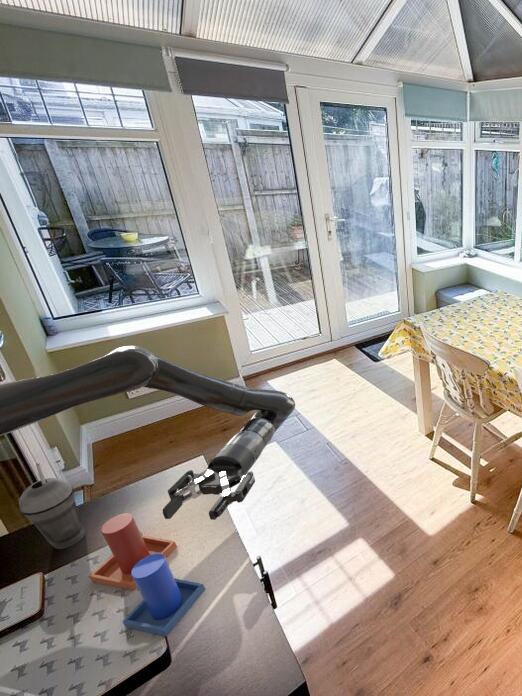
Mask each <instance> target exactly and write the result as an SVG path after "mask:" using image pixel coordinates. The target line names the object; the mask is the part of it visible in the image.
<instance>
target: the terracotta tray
mask: <svg viewBox="0 0 522 696" xmlns="http://www.w3.org/2000/svg"><path fill="white" fill-rule="evenodd" d="M141 536H142V538H143V540H144V542H145V544H146V546H147V549H148V551H149V553H150V555H152V554H156V553H160V554H163V555H164V556H165V558H166V559H167V557H169V556H170V555H171V554H172V553H173V551H174V550H176V549H177V548H178V545H177V543H176V541H174V540H169V539H163V538H159V537H154V536H148V535H144V534H141ZM88 576H89V578H90V581H91V582H92V583H96V584H100V585H101V584H102V585H105V586H111V587H115V588H119V589H125V590H129V591H135V590H136V589H138V587H137V585H136V583H135V581H134V579H133V577H132V575H131V574H124V573H122V571H121V569H120V567H119V565H118V563H117V561H116V559H115V557H114V556H113V554H112V555H111V556H110V557H109V558H108V559H106V560H105V562H103V563H102V564H101V565H100V566H99V567H98V568H97V569H96V570H94V571H93V572H92V573H91V574H90V575H88Z"/></svg>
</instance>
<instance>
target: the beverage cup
mask: <svg viewBox="0 0 522 696" xmlns="http://www.w3.org/2000/svg"><path fill="white" fill-rule="evenodd" d="M35 467H36V470H37V473H38V476H39V479H40V480H38V481H35V482H33V483H32V484H30V485H29V486H28V487H26V489H25V490H23V492H22V494H21V495H20V498H19V499H18V504H19V505H18V506H19V511H20V514H22V515H23V516H24V517H25V518H27V519H28V520H30V521H31V523H32V524H33V525H34V526H35V527H36V529H37V530H38V531H39V532H40V534H41V535H42V536H43V537H44V538H45V540H47V542H48V543H49V544H50V546H52V547H53V548H54V549H56V550H63V549H64V550H65V549H67V548H70V547H72V546H74V545H76V544H77V543H79V542H80V541H81V540H82V539H83V538H84V536H85V533H86V532H85V531H86V530H85V527H84V524H83V521H82V518H81V515H80V512H79V508H78V506H77V503H76V498H75V497H76V496H75V488H74V487H73V486H72V485H71V484H70V483H69V482H68V481H66V480H64V479H62V478H57V477H50V478H45V476H44V473H43V470H42V466H41V463H35Z"/></svg>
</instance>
